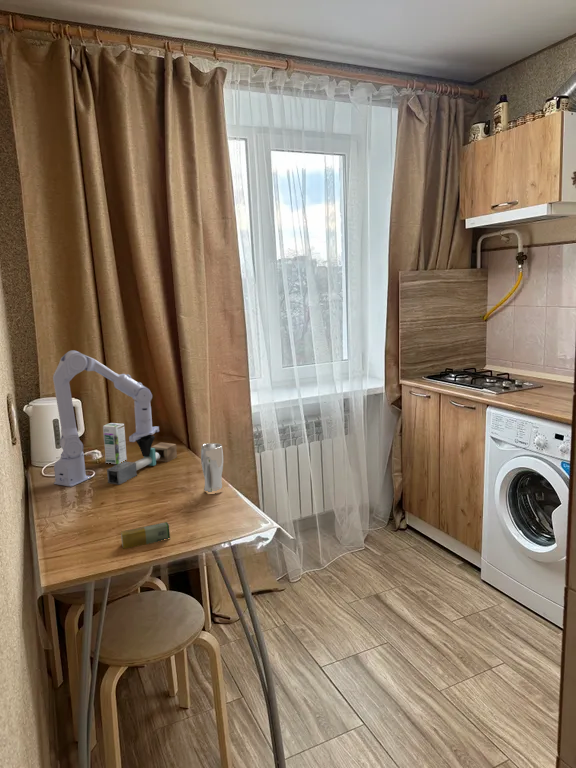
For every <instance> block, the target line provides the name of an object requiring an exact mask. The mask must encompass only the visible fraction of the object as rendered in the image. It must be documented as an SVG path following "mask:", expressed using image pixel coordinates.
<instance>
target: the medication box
mask: <svg viewBox="0 0 576 768" xmlns="http://www.w3.org/2000/svg"><path fill="white" fill-rule="evenodd" d="M120 537H121V546H122V548H123V549H124V550H125V549H129V548H135V547H139V546H145V545H150V544H154V542H155V543H159V542H158V541H160V542H162V541H161V540H164V539H168V538H170V539H171V533H170V524H169V522H161V523H156V524H152V525H147V526H141V527H136V528H132V529H127V530H126V529H125V530H123V531H122V530H121V531H120ZM164 541H165V540H164ZM149 543H150V544H149Z"/></svg>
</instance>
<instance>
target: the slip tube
mask: <svg viewBox="0 0 576 768" xmlns="http://www.w3.org/2000/svg"><path fill="white" fill-rule="evenodd" d="M159 459H160V455H159V453H157V452H155V448H151V450H150V455H149V456H148V457H145V456H143V458H140V459H138V460H136V461H133V462H134V463H136V471H137V472H138V470H140V469H143V468H144V467H145V468H146V466H150V467H151V466H153V467H154V466H156V465H157V460H159Z"/></svg>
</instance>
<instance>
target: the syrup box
mask: <svg viewBox="0 0 576 768" xmlns="http://www.w3.org/2000/svg"><path fill="white" fill-rule="evenodd" d="M102 430H103V431H102V432H103V442H104V454H105V455H104V458H105V464H106V463H108V464H109V463H111V465H117V464H120V463H121V462H123V461H125V460H126V461H127V460H128V457H127V446H126V432H125V423H116V422H110V423H107V424H105V425H103V426H102Z"/></svg>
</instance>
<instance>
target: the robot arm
mask: <svg viewBox="0 0 576 768" xmlns="http://www.w3.org/2000/svg"><path fill="white" fill-rule="evenodd" d="M59 359H60V360H59V363H58V364H57V367H56V369H55V371H54V373H53V375H52V381H53V385H54V392H55V398H56V404H57V405H56V406H57V409H58V418H59V422H60V428H61V429H60V433H61V434H60V435H61V438H60V439H59V445H60V448H61V449H62V452H61V453H60V458H59V459H58V460H57V461H55V463H54V466H53V467H54V477H55V481H54V482H53V484H54V485H59V486H66V487H71V488H72V487H74V486H76V485H79V484H81V483H82V482H85V481H88V480H90V479H91V478H90V477H92V476H91V475H87V474H86V464H85V454H84V444H83V442H82V441H81V440H80V436H79V433H78V432H79V431H78V428H77V424H76V417H75V416H76V415H75V411H74V405H73V404H74V403H73V398H72V391H71V385H70V381H72V379H73V378H75V376H76V375H78V374H80V373H81V372H83V371H87V372H96V373H97V374H99V375H101V376H103V377H104V378H106V379H107V380H109V381H111V382H112V383H113V386H114V388H115V389H117V390H118V391H120V392H121V393H123V394H124V395H126V396H127V397H131V399H132V400H133V401H134V402H133V403H134V419H135V420H134V421H135V423H134V424H135V432H133V433H132V434H131V435H129V436H128V440H129V442H130V443H135V442H136V444H137V445H138V447H139V450H140V451H141V455H142V457H144V456H145V457H148V456H149V455H150V450H151V447H152V446H153V442H154V440H155V435H154V434H155V433H159V432H160V426H153V419H152V418H153V417H152V406H151V402H152V399H153V394H152V392H151V390H150V388H148V387H147V386H145V385H143V383H142V382H140V381H136V380H135V379H133V378H132V375H130V374H129V373H121V374H119V373H117V372H115V371H114V370H112V369H110V367H108V366H106V365H104V364H103V363H102V362H100V361H98V360H96V358H93V357H91V356H89V355H86V354H84V353H81V352H80V351H77V350H74V349H73V350H72V349H71V350H69V351H67V352H66V353H64V355H63V356H61V358H59ZM88 477H89V478H88Z"/></svg>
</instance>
